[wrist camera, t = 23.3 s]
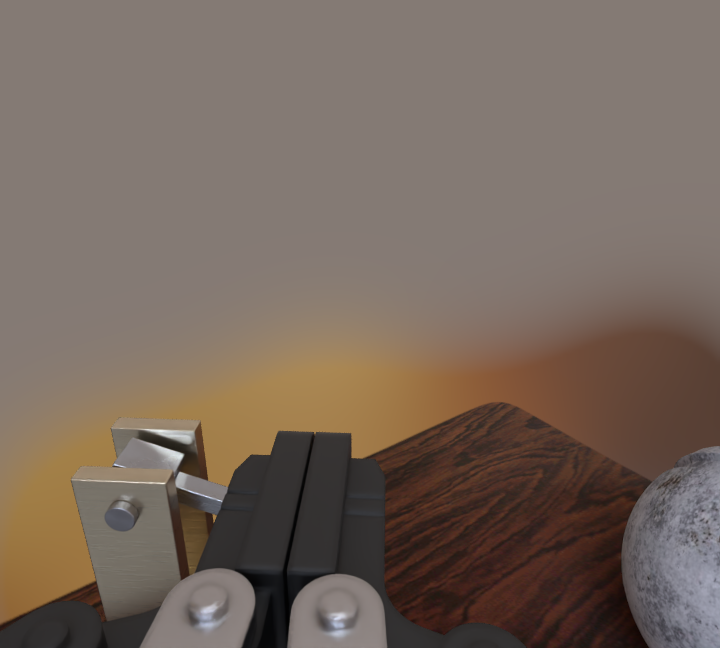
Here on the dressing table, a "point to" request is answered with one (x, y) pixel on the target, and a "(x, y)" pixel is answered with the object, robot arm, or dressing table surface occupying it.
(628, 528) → the decorative orb
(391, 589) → the dressing table surface
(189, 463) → the bracket
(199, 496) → the tap lever
